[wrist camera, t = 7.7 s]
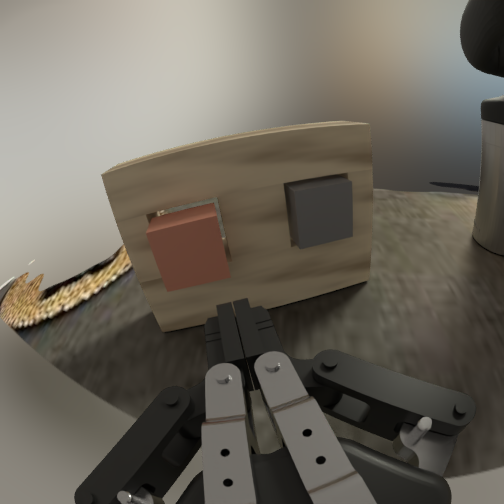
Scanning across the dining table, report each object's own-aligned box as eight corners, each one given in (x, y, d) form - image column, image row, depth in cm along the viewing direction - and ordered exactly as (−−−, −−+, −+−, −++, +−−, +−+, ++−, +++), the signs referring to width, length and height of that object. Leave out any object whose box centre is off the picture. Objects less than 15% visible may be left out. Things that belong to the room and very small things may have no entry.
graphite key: (289, 234, 25) (282, 182, 23) (337, 223, 26) (335, 173, 23) (300, 249, 23) (294, 191, 20) (352, 236, 23) (351, 181, 21)
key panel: (165, 302, 30) (118, 164, 22) (348, 257, 32) (342, 120, 24) (162, 332, 26) (101, 174, 18) (368, 279, 28) (369, 123, 20)
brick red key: (169, 271, 23) (151, 217, 21) (226, 258, 23) (213, 202, 21) (167, 291, 20) (145, 233, 18) (231, 277, 21) (216, 215, 18)
